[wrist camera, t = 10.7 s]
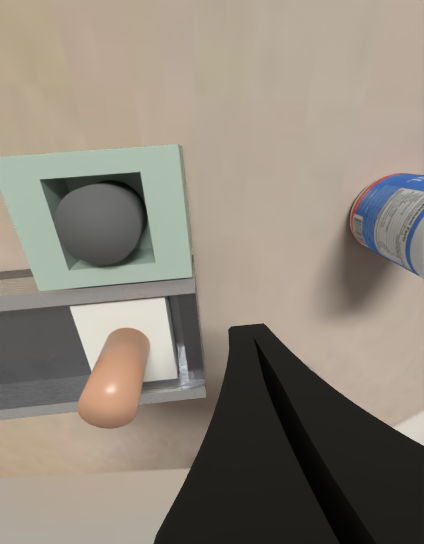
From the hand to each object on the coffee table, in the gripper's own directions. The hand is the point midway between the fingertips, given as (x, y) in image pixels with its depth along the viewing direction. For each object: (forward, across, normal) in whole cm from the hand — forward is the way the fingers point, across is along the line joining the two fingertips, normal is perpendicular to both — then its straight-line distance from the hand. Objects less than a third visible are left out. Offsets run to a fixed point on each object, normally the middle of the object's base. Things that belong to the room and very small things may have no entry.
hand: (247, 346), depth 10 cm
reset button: (+8, +6, -4) cm, 10 cm away
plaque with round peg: (+9, +7, +5) cm, 12 cm away
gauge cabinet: (+10, +6, -4) cm, 13 cm away
